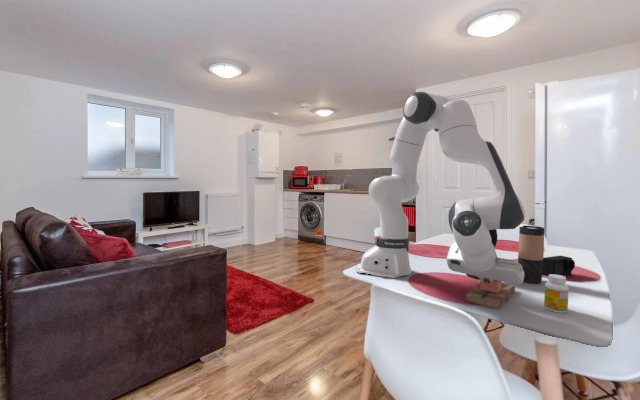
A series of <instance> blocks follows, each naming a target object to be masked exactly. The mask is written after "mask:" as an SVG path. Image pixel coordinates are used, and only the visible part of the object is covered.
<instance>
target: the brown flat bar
mask: <svg viewBox="0 0 640 400" xmlns="http://www.w3.org/2000/svg"><path fill="white" fill-rule="evenodd" d="M515 292H516V284H512V283H508V282H502V283H501V291H500V292H499V293H494V292H490V291H486V290H481V289H480V283H479V284H478V285H476V286H475V287H474V288H472V289H471V290H470V291H469V292H466V294H465V301H466V302H468V301H470V302H469V303H472V302H474V303H473V304H476V303H478V304H477V305H479V304H481V305H480V306H483V305H484V307H488V308H490V309H491V308H492V309H494V310H500V308H501V307H502V306H503V305H504V304H505V303H506V302H507V300H508V299H510V297H511V296H512V295H513V294H514V293H515Z"/></svg>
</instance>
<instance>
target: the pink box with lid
mask: <svg viewBox="0 0 640 400" xmlns="http://www.w3.org/2000/svg"><path fill="white" fill-rule="evenodd" d="M497 258H499V257H498V256H497ZM479 281H480V283H479V284H480V289H481V290H486V291H490V292H494V293H499V292H500V291H501V283H503V281H499V280H494V281H493V284H491V283H486V282H482V280H479Z"/></svg>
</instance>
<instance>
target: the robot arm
mask: <svg viewBox="0 0 640 400" xmlns="http://www.w3.org/2000/svg"><path fill="white" fill-rule="evenodd" d="M402 112H403V117H402V119H401V121H400V123H399V125H398V128H397V131H396V133H395V136H394V139H393V143H392V146H391V149H390V153H389V161H390V163H391V166H392V167H391V169H392V171H391V175H382V176H379V177H377V178H375V179H373V180H372V181H371V182H370V184H369V186H368V194H369V197H370V199H371V200H372V201H373V202H374V203H375V205H376V208H377V210H378V211H377V212H378V215H379V228H380V229H379V233H380V234H379V235H375V237H374V244H375V245H374V246H372V247H371V248H369V249H368V250H366V251H365V252H364V253H363V254H362V257H361V260H360V261H361V262H360V263H358V264H357V265H358V266H357V265H356V266H355V271H356V270H357V271H358V272H361V273H366V274H365V275H368V274H371V275H370V276H376V277H383V278H389V279H391V278H392V279H397V278H399V277H406V276H409V275H410V274H412V268H411V264H410V255H409V252H410V238H409V218H408V216H407V215H406V214H405V212H404V208H403V205H402V203H407V202H410V201H411V200H413V199H416V197H417V196H418V194H419V191H420V188H419V187H420V186H419V183H418V181H417V171H418V164H419V162H420V157H421V154H422V150H423V147H424V143H425V140H426V137H427V134H428V133H430V131H432V130H434V131H435V132H437V133H438V139H439V145H440V148H441V150H442V153H443V155H444V156H445V157H446V158H448V159H450V160H452V161H455V162H459V163H464V164H465V163H466V164H475V165H478V166H482V167H484V168H486V169H487V170H488V172H489V175H490V177H491V179H492V182H493V184H494V187H495V189H496V192H495V193H494V194H493V195H492V194H491V195H485V196H480V197H479V196H478V197H471V198H465V199H459V200H456V201H455V202H454V203H453V204H452V205H451V207H450V208H449V210H448V223H449V224H448V225H449V227H450V230H451V233H452V234H453V238H454V240H455V242H452V243H451V244H450V247H449V249H448V251H447V254H446V264H447V266H448V269H449V270H451V271H452V272H456V273H461V274H465V275H466V274H470V275H475V276H477V277H478V278H480V279H481V280H482V282H486V283H491V284H493V281H494V280H499V281H502V282H503V283H507V284H512V285H518V286H519V285H522V284H523V283H524V282H523V281H524V275H525V274H524V271H523V267H522V265H521V264H519V263H518V261H517V260H514V259H509V258H508V259H507V258H503V257H498V255H497V252H496V249H495V248H496V247H494V245H493V244H492V239H491V235H490V233H489V230H494V229H496V230H515V229H516V228H517V227H520V225H521V224H522V223H523V222H524V221H525V216H526V212H525V211H526V210H525V207H524V205H523V203H522V200H521V199H520V197H519V196H518V195H517V193H516V192H515V189H514V187H513V184H512V182H511V180H510V178H509V175H508V173H507V170H506V168H505V166H504V164H503V161H502V159H501V157H500V156H499V153H498V151H497V149H496V147H495V145H494V144H493V143H492V142H491V141H487V140H484V139H483V137H481V136H480V134H479V131H478V127H477V122H476V118H475V116H474V113H473V110H472V108H471V106H470V104H469V103H468V102H467V101H466V100H465V99H451V98H449V97H446V96H443V95H438V94H433V93H427V92H425V91H417V92H413V93H411V94H410V95H409V96H408V97H407V99H406V100H405V101H404V103H403V110H402ZM497 257H498V258H497ZM358 269H359V270H358ZM480 279H479V280H480ZM481 280H480V281H481Z"/></svg>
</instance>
